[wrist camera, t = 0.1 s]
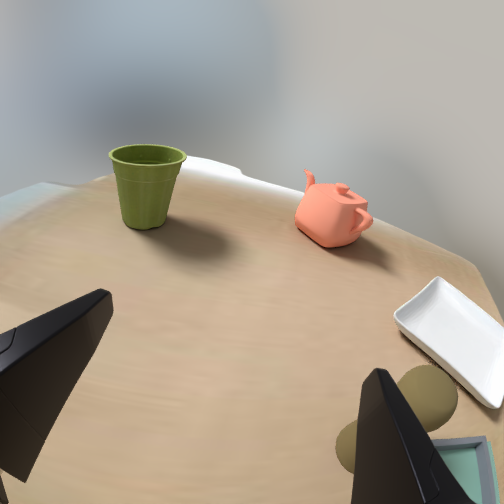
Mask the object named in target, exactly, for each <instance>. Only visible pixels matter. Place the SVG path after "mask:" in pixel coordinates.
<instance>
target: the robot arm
mask: <svg viewBox="0 0 504 504" xmlns="http://www.w3.org/2000/svg"><path fill="white" fill-rule="evenodd" d="M112 315H113V302H112V294H111V293H110V292H109V291H107V290H104V289H97V290H95V291H93V292H90V293H88V294H86V295H84V296H82V297H79V298H77V299H75V300H73V301H71V302H68V303H66V304H64V305H62V306H60V307H58V308H55V309H53V310H51V311H49V312H47V313H45V314H43V315H40V316H38V317H36V318H34V319H32V320H30V321H28V322H26V323H24V324H21V325H19V326H17V328H16V327H15V328H13V329H11V330H9V331H7V332H4V333H2V334H0V504H8V503H9V502H8V499H7V495H6V492H5V489H4V486H3V482H2V479H1V474H2V472H3V470H4V471H5V472H7V473H8V474H10V475H12V476H13V477H15V478H17V479H19V480H20V481H22V482H24V483H26V481H27V479H28V477H29V474H30V472H31V470H32V468H33V466H34V464H35V461H36V459H37V457H38V455H39V453H40V451H41V449H42V447H43V445H44V443H45V440H46V438H47V436H48V434H49V432H50V431H51V429H52V427H53V425H54V423H55V421H56V419H57V417H58V415H59V413H60V411H61V410H62V408H63V406H64V404H65V402H66V400H67V399H68V397H69V395H70V393H71V392H72V390H73V388H74V386H75V385H76V383H77V381H78V379H79V378H80V376H81V374H82V372H83V371H84V369H85V367H86V366H87V364H88V362H89V361H90V359H91V357H92V356H93V354H94V352H95V350H96V348H97V346H98V344H99V342H100V340H101V338H102V336H103V334H104V332H105V330H106V327H107V325H108V323H109V321H110V319H111V317H112ZM351 504H477V503H475V502H474V501H472V500H471V499H470V498H469V496H468V495H467V494H466V492H465V491H464V489H463V488H462V487H461V485H460V484H459V482H458V481H457V480H456V478H455V477H454V475H453V474H452V473H451V471H450V470H449V468H448V467H447V465H446V464H445V462H444V460H443V459H442V457H441V455H440V454H439V452H438V450H437V449H436V448H435V446H434V444H433V442H432V441H431V439H430V437H429V436H428V434H427V432H426V431H425V429H424V427H423V426H422V424H421V422H420V421H419V419H418V418H417V416H416V414H415V413H414V411H413V410H412V408H411V406H410V405H409V403H408V402H407V400H406V399H405V397H404V395H403V394H402V392H401V391H400V389H399V388H398V386H397V385H396V383H395V381H394V380H393V378H392V377H391V375H390V374H389V372H388V371H387V370H386V369H381V368H375V369H374V370H373V371H372V372H371V373H370V375H369V376H368V377H367V378H366V379H365V381H364V382H363V385H362V390H361V398H360V406H359V413H358V420H357V432H356V452H355V467H354V479H353V489H352V499H351Z"/></svg>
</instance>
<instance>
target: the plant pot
mask: <svg viewBox="0 0 504 504" xmlns="http://www.w3.org/2000/svg"><path fill="white" fill-rule="evenodd" d="M109 157H110V159H111V160H112V162H113V169H114V173H115V175H116V181H117V188H118V195H119V201H120V207H121V213H122V219H123V221H124V222H125V224H126V225H127V226H129V227H132V228H135V229H142V230H145V229H149V228H151V227H159V226H161V225H162V224H163V223H164V222H165V220H166V216H167V212H168V208H169V204H170V200H171V196H172V192H173V188H174V184H175V181H176V177H177V175H178V174H179V171H180V168H181V165H182V162H184V161H185V160H186V158H187V155H186V154H185V153H184V152H183V151H181V150H179V149H176V148H173V147H168V146H162V145H149V144H141V145H140V144H139V145H128V146H122V147H119V148H116V149H114V150H112V151H111V152H110V153H109Z"/></svg>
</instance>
